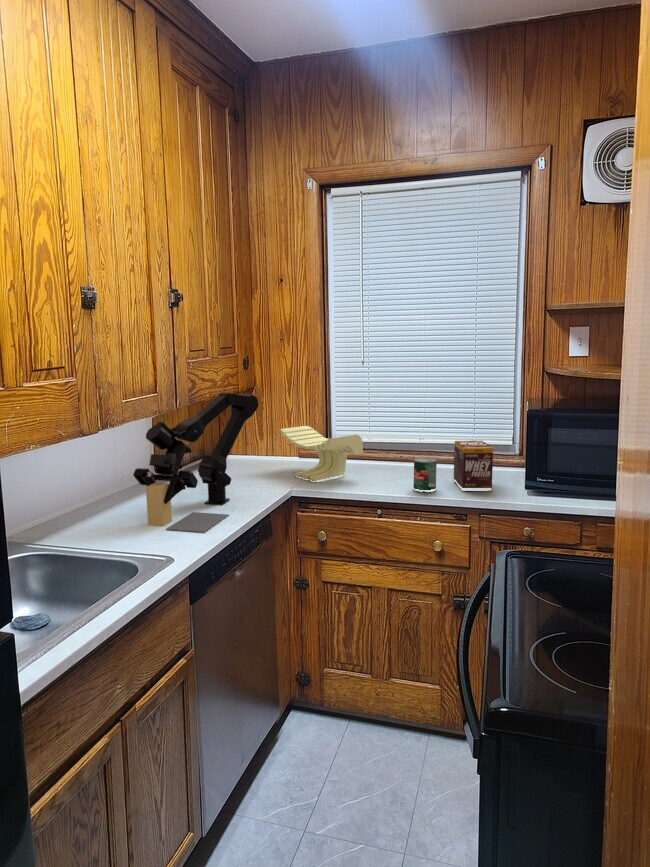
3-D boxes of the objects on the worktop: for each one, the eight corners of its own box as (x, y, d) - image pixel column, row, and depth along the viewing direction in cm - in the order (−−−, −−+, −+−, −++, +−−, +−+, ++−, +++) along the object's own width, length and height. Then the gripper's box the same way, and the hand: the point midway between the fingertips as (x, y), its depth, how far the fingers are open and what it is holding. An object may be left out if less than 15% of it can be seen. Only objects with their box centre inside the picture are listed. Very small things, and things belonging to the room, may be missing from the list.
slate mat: (193, 513, 195) (193, 512, 195) (229, 515, 192) (229, 514, 192) (166, 530, 178) (166, 528, 178) (204, 533, 175) (204, 531, 175)
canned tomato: (410, 491, 219) (410, 460, 217) (417, 486, 226) (417, 456, 224) (432, 493, 215) (433, 462, 213) (438, 488, 222) (439, 458, 220)
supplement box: (462, 492, 217) (463, 447, 215) (453, 481, 233) (454, 440, 230) (492, 491, 217) (493, 447, 215) (481, 481, 233) (482, 440, 230)
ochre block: (156, 520, 188) (154, 482, 186) (171, 521, 187) (170, 483, 185) (148, 525, 183) (145, 486, 181) (163, 526, 182) (161, 487, 180)
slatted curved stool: (362, 480, 236) (362, 433, 233) (330, 487, 226) (329, 438, 223) (312, 467, 259) (312, 424, 256) (281, 473, 248) (280, 429, 246)
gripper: (134, 441, 187) (115, 486, 178) (191, 444, 183) (175, 490, 174) (149, 462, 196) (132, 505, 187) (204, 465, 191) (189, 509, 183)
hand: (156, 502), depth 182 cm, fingers closed on ochre block, 5 cm apart
